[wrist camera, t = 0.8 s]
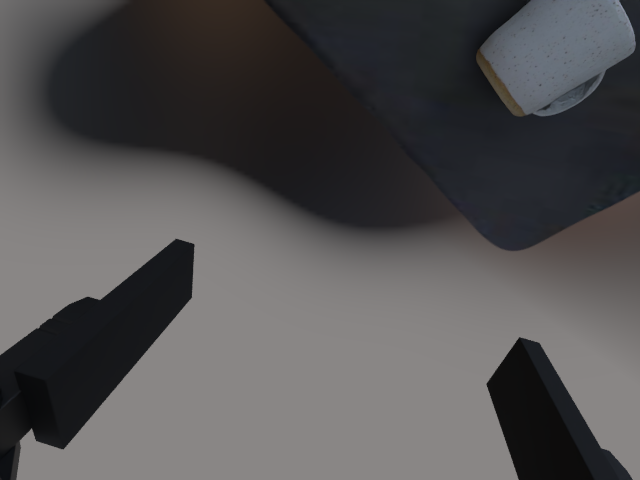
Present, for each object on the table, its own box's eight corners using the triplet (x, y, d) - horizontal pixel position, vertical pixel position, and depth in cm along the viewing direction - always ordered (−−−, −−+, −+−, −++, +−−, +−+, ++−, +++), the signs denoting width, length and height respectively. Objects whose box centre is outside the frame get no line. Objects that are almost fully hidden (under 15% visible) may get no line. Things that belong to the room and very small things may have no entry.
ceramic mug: (463, 46, 30) (478, 70, 24) (562, -44, 25) (609, -40, 19) (525, 128, 33) (550, 166, 28) (621, 64, 29) (676, 93, 23)
